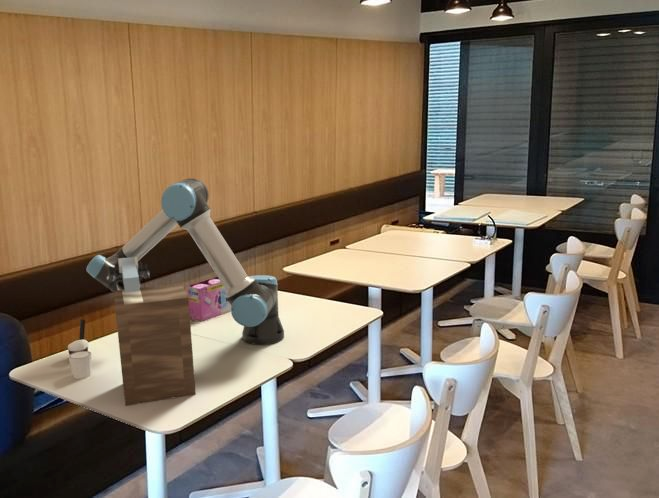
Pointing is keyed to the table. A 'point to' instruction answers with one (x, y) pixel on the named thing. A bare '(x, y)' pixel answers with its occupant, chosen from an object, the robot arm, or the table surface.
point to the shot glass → (81, 364)
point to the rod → (130, 275)
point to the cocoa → (79, 341)
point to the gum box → (207, 299)
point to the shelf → (155, 343)
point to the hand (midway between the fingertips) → (128, 261)
